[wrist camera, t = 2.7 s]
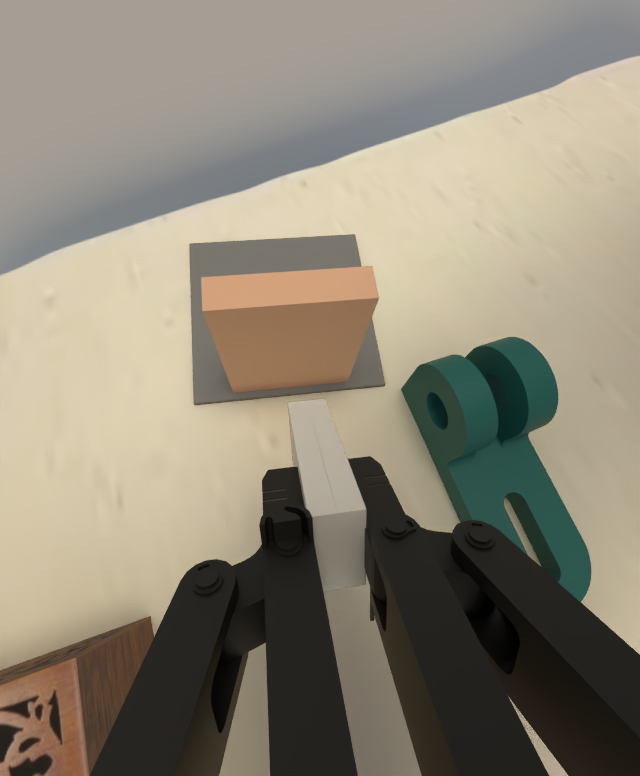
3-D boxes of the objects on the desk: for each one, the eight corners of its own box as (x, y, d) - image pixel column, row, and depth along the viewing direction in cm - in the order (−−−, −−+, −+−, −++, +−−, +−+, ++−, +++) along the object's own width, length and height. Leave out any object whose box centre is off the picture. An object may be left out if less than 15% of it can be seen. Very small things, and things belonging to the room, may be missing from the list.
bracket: (400, 389, 33) (432, 346, 26) (471, 366, 34) (522, 319, 27) (506, 625, 27) (585, 656, 20) (586, 587, 29) (689, 603, 21)
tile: (343, 357, 33) (371, 263, 22) (347, 381, 32) (379, 297, 21) (231, 367, 32) (200, 274, 21) (233, 393, 31) (202, 311, 20)
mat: (354, 237, 38) (354, 234, 37) (384, 385, 33) (385, 384, 32) (190, 246, 36) (189, 243, 36) (195, 405, 31) (193, 403, 31)
